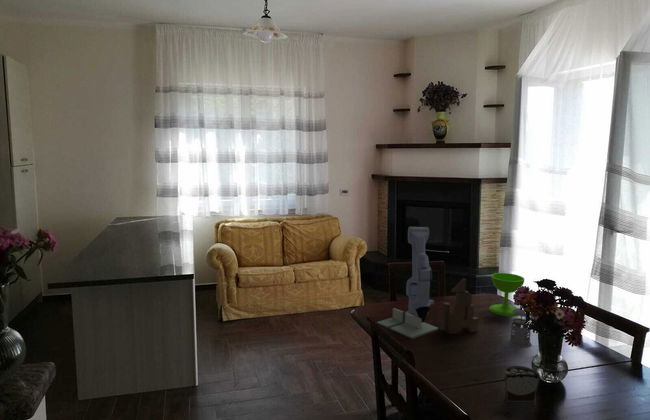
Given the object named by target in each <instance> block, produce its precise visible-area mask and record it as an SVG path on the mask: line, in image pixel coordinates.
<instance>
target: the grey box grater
mask: <svg viewBox="0 0 650 420" xmlns="http://www.w3.org/2000/svg"><path fill="white" fill-rule="evenodd" d="M516 308H517V309H514V310H513V311H512V312H513V313H514V314H515V315H518V316H517V317H520V318H513V319H512V322H511V325H510V326H511V327H510V338H509V339H508V340H507V342H508V343H509V344H510V345H512V346H513V347H514V346H515V347H517V348H525V349H526V348H531V347H532V346H533V344H531V343H532V342H531V333H532V331H531V330H532V329H531V330H528V331H527V328H529V327H528V325H530V324H531V322H530V321H529V322H528V323H527V324H525V320H526V318H527V317H526V313H525V311H524V310H520V308H521V307H520V308H519V307H516ZM523 317H524V319H523ZM529 323H530V324H529ZM521 326H522V327H521Z"/></svg>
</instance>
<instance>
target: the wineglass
mask: <svg viewBox="0 0 650 420" xmlns="http://www.w3.org/2000/svg"><path fill="white" fill-rule="evenodd" d="M491 282H492V284H493V286H494V287H495V288H496V290H498V291H500V292H502V293H504V296H503V297H504V298H503V303H501V304H500V303H498V304H496V303H495V304H492V305H490V306H489V308H488V310H489V311H490V312H491V313H493V314H495V315H498V316H502V317H519V316H518V315H515V314H514V313H513V312H512V311H513V310H514V309H517V308H518V307H516V306H514V305H510V304H509V294H512V293H515V292H517V291H518V290H517V288H518V287H521V286H522V287H523V285H524V283H525V278H524V277H523V276H521V275H518V274H515V273H508V272H495V273H492V274H491ZM522 287H521V288H522ZM516 290H517V291H516Z"/></svg>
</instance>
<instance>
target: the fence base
mask: <svg viewBox="0 0 650 420" xmlns="http://www.w3.org/2000/svg"><path fill="white" fill-rule="evenodd" d="M405 313H406V311H403V310H401V309H397V308H395V307H394V308H392V317H391V318H393V319H395V320H398V321H400V322H403V323H405Z"/></svg>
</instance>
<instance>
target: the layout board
mask: <svg viewBox="0 0 650 420" xmlns="http://www.w3.org/2000/svg"><path fill="white" fill-rule="evenodd" d="M376 324H377V325H380V326H382V327H384V328H386V329H389V330H391V331H392V332H393V331H394V332H396V333H398V334H399V335H403V336H404V337H407V338H409V339H411V340H413V339H415V338H418V337H422V336H424V335H427V334H430V333H432V332H436V331H438V330H439V327H437V326H434V325H432V324H429V323H426V322H425V321H424V322H423V323H422V324H421V328H420V329H419V328H417V327H414V326H412V325H410V324H407V323H403V322H400V321H398V320H395V319H393V318H392V317H388V318H385V319H382V320H379V321H377V322H376Z"/></svg>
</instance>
